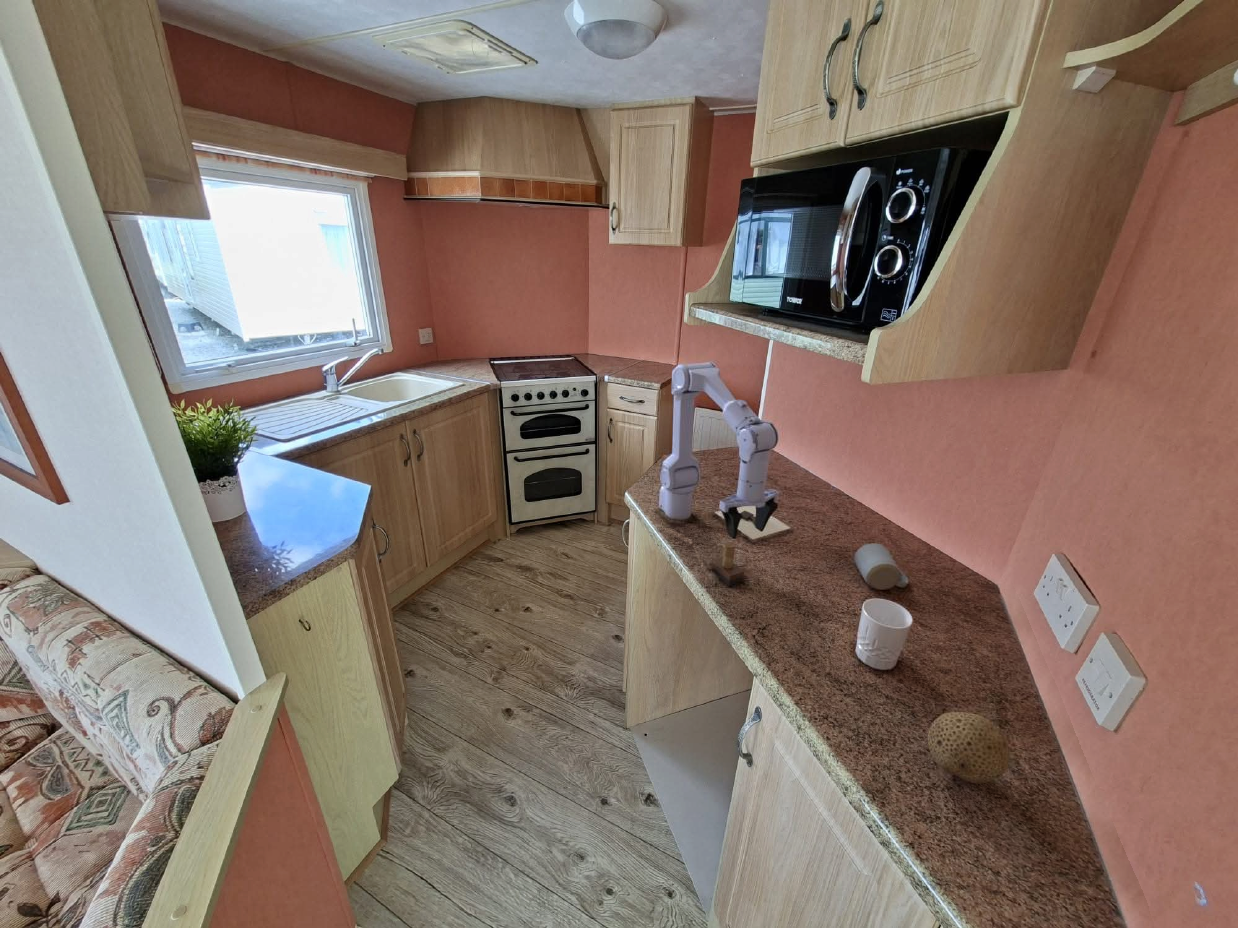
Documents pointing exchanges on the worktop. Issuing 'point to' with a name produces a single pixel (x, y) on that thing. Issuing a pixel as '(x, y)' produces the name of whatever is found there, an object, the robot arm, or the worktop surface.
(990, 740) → the natural sponge
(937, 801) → the worktop surface
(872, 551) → the ceramic mug
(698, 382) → the robot arm
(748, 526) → the tile
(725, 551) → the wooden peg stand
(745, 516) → the shell bit
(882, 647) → the white cup
